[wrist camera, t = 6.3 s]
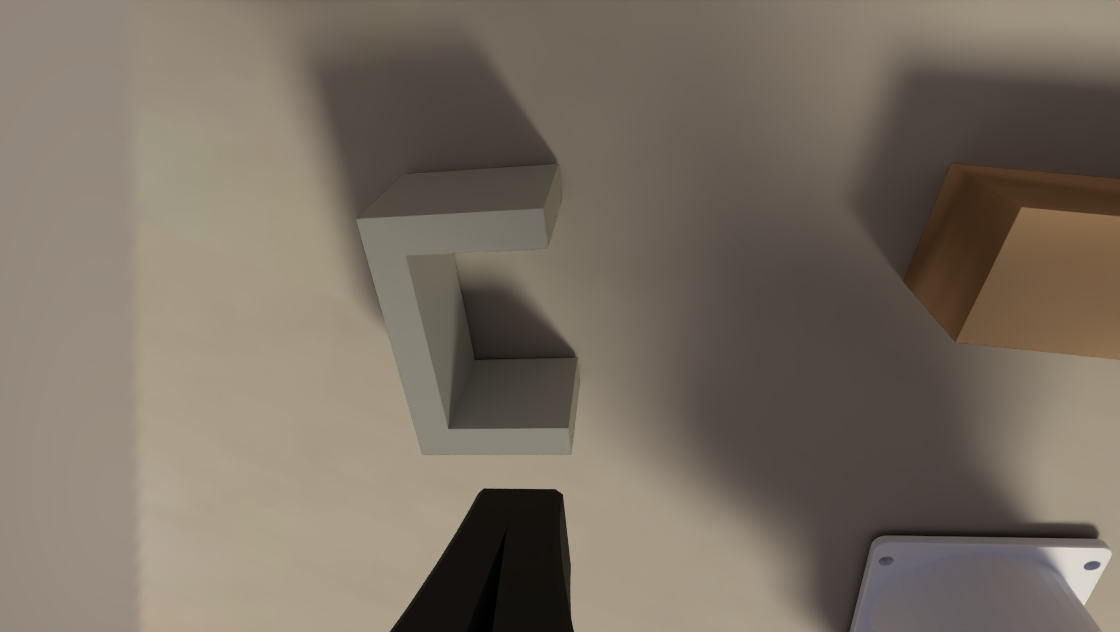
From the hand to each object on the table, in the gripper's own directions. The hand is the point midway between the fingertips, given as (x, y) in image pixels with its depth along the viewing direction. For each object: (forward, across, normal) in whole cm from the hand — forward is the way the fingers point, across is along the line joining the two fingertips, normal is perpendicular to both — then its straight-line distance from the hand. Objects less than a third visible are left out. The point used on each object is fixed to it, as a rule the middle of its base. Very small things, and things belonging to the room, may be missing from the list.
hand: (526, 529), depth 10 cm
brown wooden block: (+10, -15, 0) cm, 18 cm away
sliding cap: (+10, +2, 0) cm, 10 cm away
